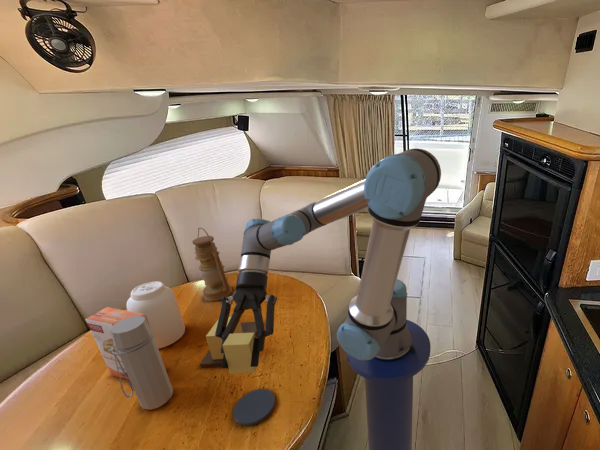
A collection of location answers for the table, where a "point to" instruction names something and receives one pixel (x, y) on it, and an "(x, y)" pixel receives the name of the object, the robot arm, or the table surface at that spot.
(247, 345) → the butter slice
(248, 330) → the butter board
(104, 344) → the cracker box
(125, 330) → the water bottle
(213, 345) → the butter block
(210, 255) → the lantern
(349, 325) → the robot arm
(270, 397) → the plate
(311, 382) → the table surface
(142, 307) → the white jar
